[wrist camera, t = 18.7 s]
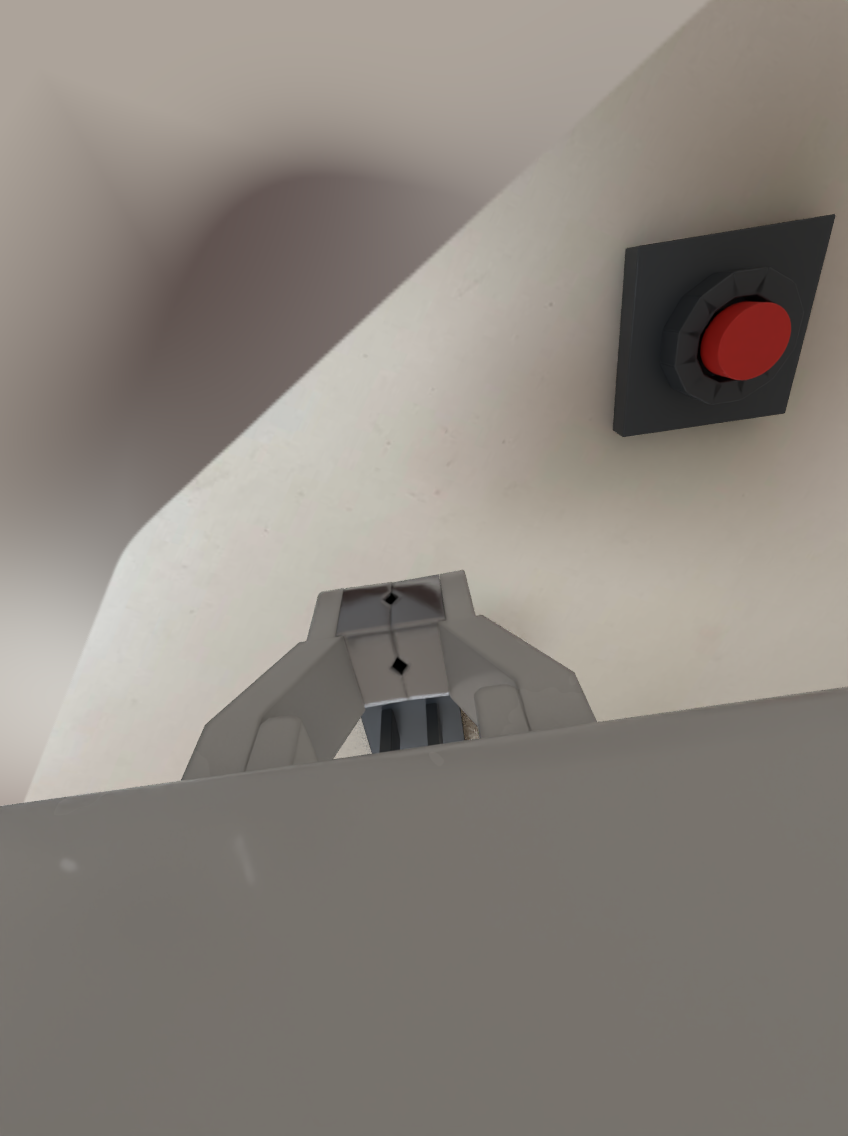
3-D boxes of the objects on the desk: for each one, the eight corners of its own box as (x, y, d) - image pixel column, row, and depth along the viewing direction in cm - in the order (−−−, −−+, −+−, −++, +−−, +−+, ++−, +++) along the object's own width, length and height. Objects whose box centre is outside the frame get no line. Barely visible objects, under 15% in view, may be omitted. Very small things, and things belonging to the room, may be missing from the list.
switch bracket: (351, 672, 41) (331, 812, 30) (453, 658, 40) (471, 796, 29) (377, 759, 47) (369, 902, 36) (465, 748, 47) (484, 889, 36)
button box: (625, 248, 26) (654, 243, 23) (811, 218, 25) (866, 208, 22) (612, 430, 31) (635, 445, 28) (767, 407, 30) (806, 420, 27)
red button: (705, 307, 24) (725, 308, 23) (775, 296, 24) (800, 296, 23) (694, 379, 26) (712, 385, 25) (759, 370, 26) (781, 374, 25)
